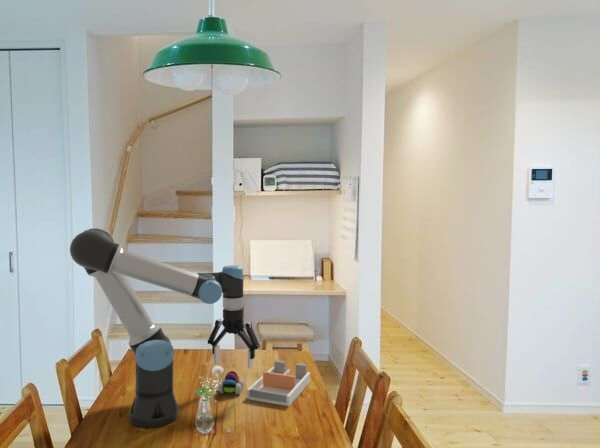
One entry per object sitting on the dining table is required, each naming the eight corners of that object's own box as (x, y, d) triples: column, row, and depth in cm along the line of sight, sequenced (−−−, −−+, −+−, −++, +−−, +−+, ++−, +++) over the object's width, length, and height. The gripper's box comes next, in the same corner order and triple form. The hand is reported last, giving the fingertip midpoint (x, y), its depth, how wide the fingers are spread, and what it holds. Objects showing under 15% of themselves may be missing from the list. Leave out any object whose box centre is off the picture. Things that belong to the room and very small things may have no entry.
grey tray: (289, 406, 159) (289, 387, 158) (246, 399, 164) (247, 381, 164) (310, 381, 181) (310, 364, 181) (272, 375, 187) (272, 359, 186)
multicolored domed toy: (245, 387, 175) (245, 368, 174) (239, 397, 165) (239, 378, 165) (223, 385, 176) (223, 367, 175) (216, 396, 166) (216, 376, 166)
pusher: (294, 390, 169) (294, 377, 169) (262, 385, 173) (263, 372, 173) (304, 379, 179) (304, 367, 179) (274, 375, 184) (274, 362, 183)
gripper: (268, 308, 168) (268, 365, 169) (208, 303, 176) (208, 357, 178) (260, 313, 161) (260, 372, 162) (197, 307, 169) (198, 364, 170)
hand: (233, 365), depth 170 cm, fingers open, 13 cm apart
